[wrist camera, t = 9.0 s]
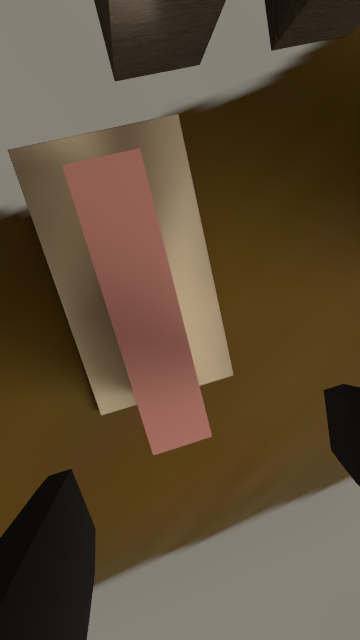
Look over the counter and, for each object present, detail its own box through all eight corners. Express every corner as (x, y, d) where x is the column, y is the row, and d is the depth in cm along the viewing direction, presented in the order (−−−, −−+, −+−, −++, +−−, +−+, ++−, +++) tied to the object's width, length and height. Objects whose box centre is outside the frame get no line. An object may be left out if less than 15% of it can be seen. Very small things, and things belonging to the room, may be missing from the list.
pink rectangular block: (135, 181, 15) (140, 147, 10) (187, 380, 18) (211, 436, 13) (84, 193, 15) (61, 165, 10) (145, 393, 18) (153, 455, 13)
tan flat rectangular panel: (176, 117, 15) (178, 113, 15) (230, 372, 19) (233, 375, 19) (11, 153, 15) (7, 149, 14) (102, 410, 18) (101, 415, 18)
